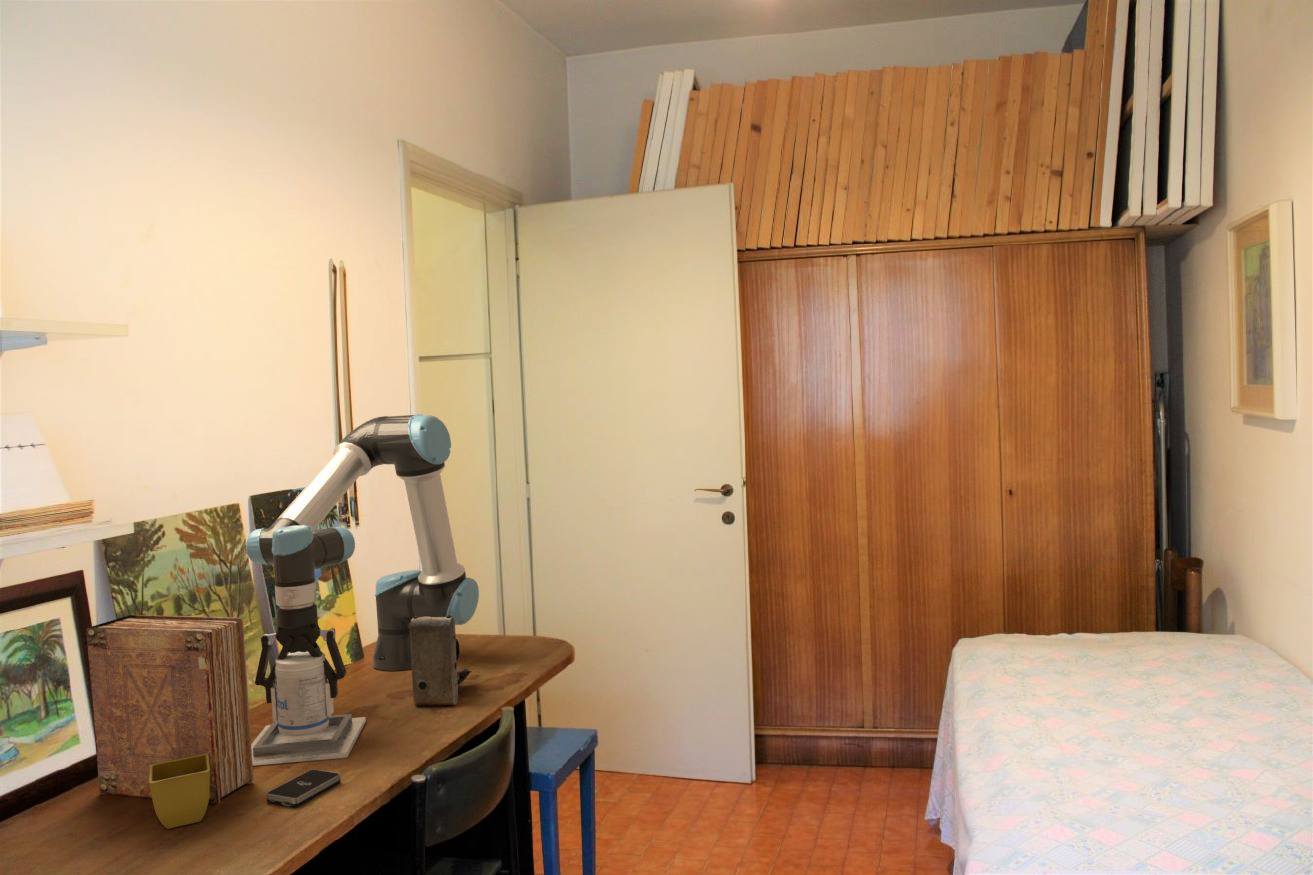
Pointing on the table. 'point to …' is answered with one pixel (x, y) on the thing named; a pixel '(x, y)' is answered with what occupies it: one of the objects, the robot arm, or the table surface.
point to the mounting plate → (307, 742)
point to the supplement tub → (301, 694)
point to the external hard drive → (303, 788)
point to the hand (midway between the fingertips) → (303, 716)
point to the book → (169, 700)
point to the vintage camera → (435, 661)
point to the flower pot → (180, 790)
